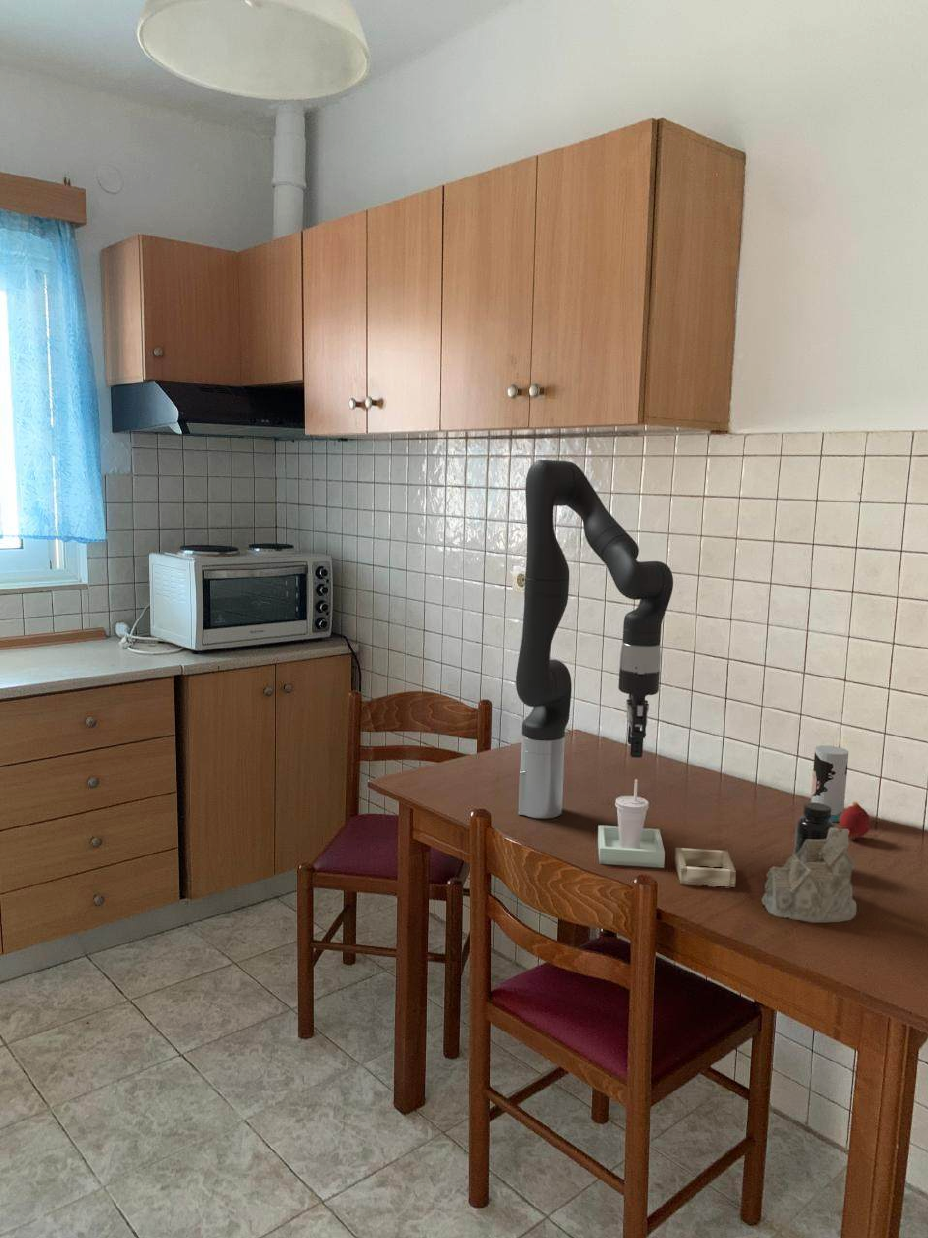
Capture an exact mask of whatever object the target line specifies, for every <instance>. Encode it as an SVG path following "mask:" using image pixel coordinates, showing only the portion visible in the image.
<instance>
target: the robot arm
mask: <svg viewBox="0 0 928 1238" xmlns="http://www.w3.org/2000/svg"><path fill="white" fill-rule="evenodd" d="M525 478H526V479H525V488H524V489H525V490H524V491H525V513H526V557H525V558H526V560H525V563H526V564H525V573H524V586H523V587H524V588H523V589H524V591H523V597H524V598H523V615H522V616H523V617H522V628H521V629H522V630H521V639H520V641H521V642H520V648H519V653H518V654H519V655H518V661H517V668H516V675H515V687H516V692H517V696H518V697H519V700H520V701H521V702H522V703H523V704H524V705H525V706H527V707H529V708H530V707H531V708H532V710H531V712H529V714H528V715H527V716H526V717H525V718H524V720H523V721H522V723H521V743H520V744H521V745H520V746H521V747H520V750H521V751H520V770H519V789H518V790H519V791H518V815H521V816H526V817H529V818H533V819H553V818H556V817H558V816H560V815H562V813H563V794H564V793H563V792H564V791H563V788H564V785H563V784H564V764H565V763H564V762H565V760H564V759H565V758H564V757H565V736H566V735H565V734H566V733H565V732H566V727H567V726H568V723H569V720H570V711H571V701H572V700H571V699H572V692H573V691H572V689H573V688H572V678H571V672H570V671H569V669H568V667H567V666H566V664H564V662H562V661H560V660H558V659H550V658H551V649H552V644H553V638H554V636H555V633H556V630H558V629H557V628H558V627H559V625H560V623H561V620H562V618H563V616H564V613H565V611H566V608H567V605H568V601H569V594H570V593H569V592H570V568H569V564H568V561H567V558H566V557H565V554H564V552H563V550H562V548H561V545H560V544H559V542H558V539H557V537H556V534H555V529H554V527H555V526H554V507H556V506H557V507H559V506H560V507H562V506H563V507H564V506H566V507H568V508H570V509H571V510H572V511H574V512H575V513H576V514H577V515H578V516H579V517H580V518H581V520H582V525H583V532H584V536H585V539H586V542H587V544H588V545H589V547H590V548H591V549H592V551H593V552H594V553H595V554H596V555H597V556H598V557H599V559H600V560H601V561H602V562H603V563H604V564H605V565H606V567H607V569H608V571H609V572H608V573H609V575H610V576H611V578H612V581H613V583H614V585H615V587H616V589H617V591H618V592H619V593H620V594H621V595H622V596H624V598H628V599H629V600H633V601H634V600H635V601H637V600H639V604H638V606H637V607H636V608H635V609H634V610H632V611H630V612H628V613H626V614H625V615H624V618H623V624H622V625H623V628H622V642H621V648H620V649H621V650H620V654H619V669H618V671H619V672H618V690H619V691H620V692H621V693H624V694H627V695H628V698H627V699H626V703H625V704H626V705H625V706H626V718H627V721H626V722H627V725H628V728H627V729H628V730H627V744H628V745H630V749H629V756H630V757H631V758H636V759H637V758H639V759H640V758H642V757H643V751H644V750H643V749H644V739H646V736H647V732H646V731H647V730H646V729H647V726H648V714H649V710H650V705H649V702H648V700H646V697H647V696H653V695H656V694H658V693H659V691H660V679H661V676H660V675H661V663H662V662H661V661H662V654H661V653H662V652H661V639H662V624H663V620H664V618H665V615H666V612H667V609H668V605H669V602H670V599H671V596H672V592H673V590H674V589H673V588H674V577H673V574H672V573H673V572H672V570H671V569H670V567H669V565H668V564H667V563H665V562H663V561H662V560H661V561H659V560H647V561H646V560H645V561H639V560H637V558H638V557H639V553H640V550H639V549H640V547H639V545H638V544H637V542H636V541H635V539H633V537H632V536H631V535H629V533H628V532H627V530H625V529H624V528H623V527H622V526H621V525H620V524H619V523H618V522H617V521H616V519H615V518H614V517H613V516H612V514H611V513H610V512H609V510H608V509H607V508H606V506H605V504H604V503H603V502H602V500H601V498H600V497H599V495H598V494H597V491H595V489H594V487H593V486H592V484H591V482H590V481H589V479H588V477H587V476H586V474H585V473H584V471H583V470H582V469H581V468H580V467H579V466H578V465H577V464H576V463H575V462H572V461H569V460H559V459H558V460H557V459H554V460H553V459H538V460H536V461H533V462H532V464H531V465H530V466H529V468H528V471H527V474H526V477H525Z"/></svg>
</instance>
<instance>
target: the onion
mask: <svg viewBox="0 0 928 1238" xmlns="http://www.w3.org/2000/svg"><path fill="white" fill-rule="evenodd" d="M839 825H840V828H841V830H842V829H848V830H849V834H848V839H851V840H857V839H859V838H862V837H864V836H866V834H868V832H869V831H870V828H871V819H870V816H869V814H868V812H867V811H866V810H865V809H864V807H862V806H861V805H860V804H859V803H858V802H857V801H856V800H855V801H852V805H850V806H848V807H846V808H844V811H843V812H842V814H841V815H840V821H839Z"/></svg>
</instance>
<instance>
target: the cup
mask: <svg viewBox="0 0 928 1238" xmlns="http://www.w3.org/2000/svg"><path fill="white" fill-rule="evenodd" d="M848 760H849V750H848V749H846V748H843V747H839V746H834V745H817V746H815V748H814V755H813V769H812V770H813V771H812V781H811V782H812V783H811V784H812V785H811V793H810V794H811V795H810V803H812V802H813V803H821V804H825V805H827V806H829V807H831V819H829V820H830V821H831V822H833V823H838V822H840V815H841V814H842V812H843V811H844V810H845V808H844V806H845V798H846V788H847V787H846V785H847V775H848V774H847V773H848V763H849V762H848Z"/></svg>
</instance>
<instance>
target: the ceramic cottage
mask: <svg viewBox="0 0 928 1238" xmlns="http://www.w3.org/2000/svg"><path fill="white" fill-rule="evenodd" d="M848 834H849V830H848V829H842V828H841V832H840V829H839V828H838V827H836V826H835V827H831V828H830V829H829V830H828V835H827V838H826V839H823V840H812V839H807V840H805V842H804V843H803V845H802V848H801V849H800V851H799V852H798V853H797V854H795V853H794V852H792V853H791V855H790V856H789V857H788V858H787V860H786V861H785V864H784V865H783V866H782V867H780V866H779V867H778V866H772V867H771V868H769V870H768V871H767V873H766V877H767V880H766V882H765V886H764V889H765V891H764V892H765V893H764V894H763V896H762V898H761V904H762V905H763V906H765V909H766V910H767V912H768V913H769V914H771V915H773V916H775V917H779V918H785V919H786V918H788V919H790V920H795V921H796V920H798V921H803V922H807V923H814V924H816V923H824V924H825V923H826V924H827V923H840V922H844V921H845V922H846V921H851V920H852V919H853V918H855V916H856V915H857V902H856V900H854V899H853V887H852V884H851V883H852V882H851V878H852V872H853V869H854V868H855V867H856V866H855V861H854V860H853V859H852V857H850V855H849V854H848V852H847V851H848V850H847V848H848V847H849V846H850V845H849V836H848Z"/></svg>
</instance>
